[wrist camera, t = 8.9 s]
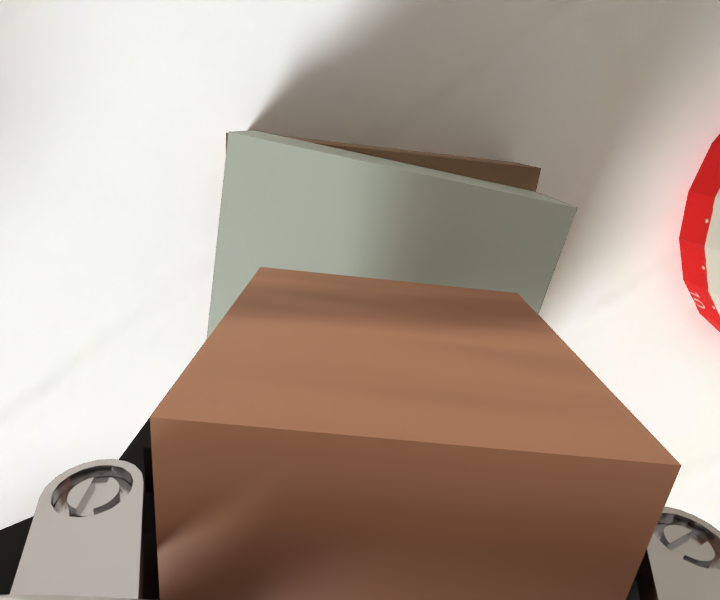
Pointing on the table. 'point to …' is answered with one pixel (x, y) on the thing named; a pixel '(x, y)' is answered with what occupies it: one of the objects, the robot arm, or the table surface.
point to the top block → (377, 222)
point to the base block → (450, 164)
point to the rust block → (397, 452)
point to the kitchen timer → (703, 237)
